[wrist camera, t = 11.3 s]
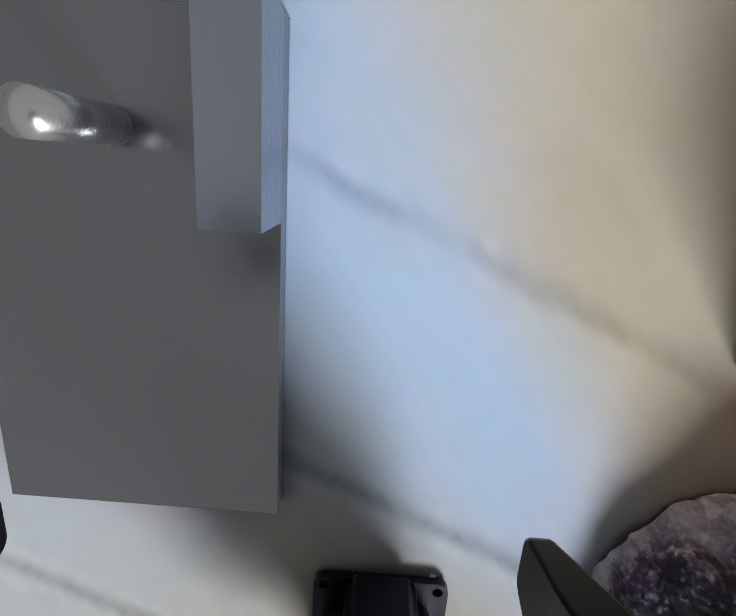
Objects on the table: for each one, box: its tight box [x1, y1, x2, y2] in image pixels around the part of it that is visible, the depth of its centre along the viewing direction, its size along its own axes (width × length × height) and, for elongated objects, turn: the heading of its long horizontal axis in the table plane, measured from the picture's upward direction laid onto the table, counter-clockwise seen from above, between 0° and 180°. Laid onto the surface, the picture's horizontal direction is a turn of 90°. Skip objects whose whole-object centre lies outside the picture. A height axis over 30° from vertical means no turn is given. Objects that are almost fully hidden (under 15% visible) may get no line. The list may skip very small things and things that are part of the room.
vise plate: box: [0, 0, 290, 514], centre depth 17 cm, size 20×12×6 cm, turn 176°
